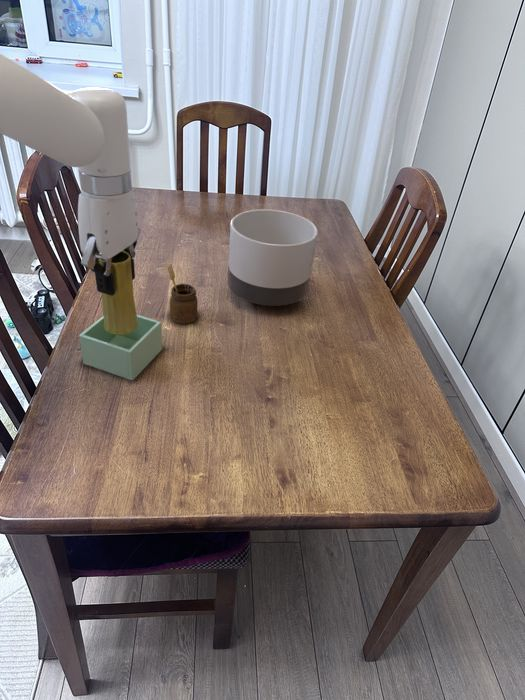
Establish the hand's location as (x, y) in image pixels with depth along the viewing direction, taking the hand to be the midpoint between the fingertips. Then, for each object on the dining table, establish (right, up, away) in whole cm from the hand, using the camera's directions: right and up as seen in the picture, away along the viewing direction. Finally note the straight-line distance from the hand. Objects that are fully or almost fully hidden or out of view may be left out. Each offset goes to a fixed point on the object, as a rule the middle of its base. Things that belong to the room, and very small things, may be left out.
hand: (116, 284), depth 85 cm
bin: (-1, -13, +10) cm, 16 cm away
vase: (-1, -7, +5) cm, 9 cm away
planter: (+26, +2, +33) cm, 42 cm away
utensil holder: (+8, -4, +22) cm, 24 cm away
